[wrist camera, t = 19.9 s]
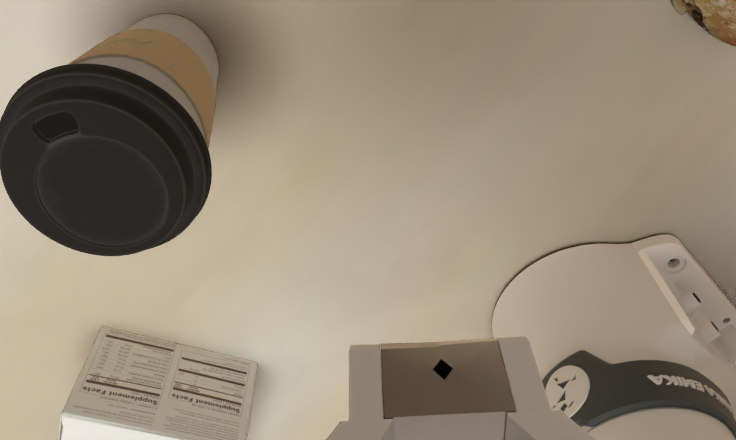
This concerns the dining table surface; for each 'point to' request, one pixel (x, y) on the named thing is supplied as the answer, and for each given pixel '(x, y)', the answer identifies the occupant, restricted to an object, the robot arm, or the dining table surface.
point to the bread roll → (712, 16)
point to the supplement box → (158, 392)
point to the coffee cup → (115, 140)
